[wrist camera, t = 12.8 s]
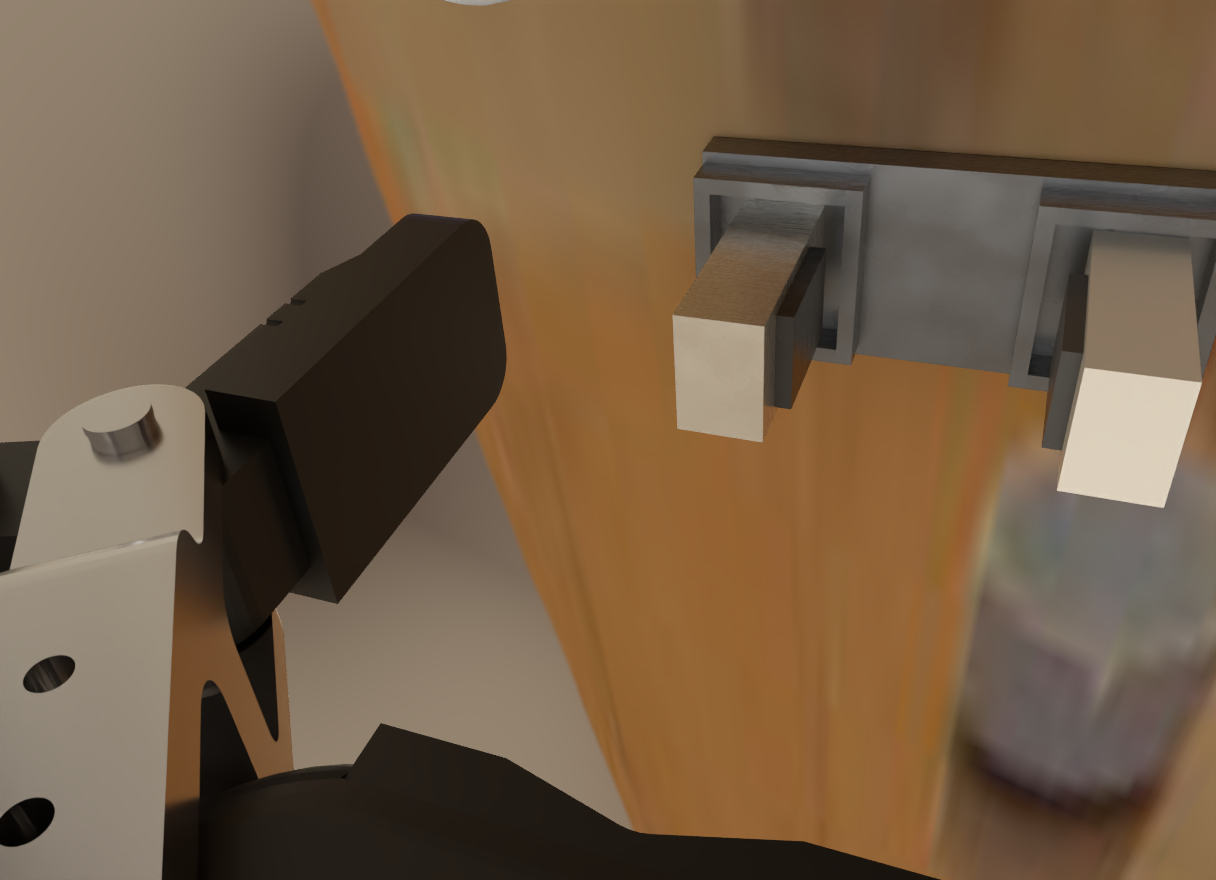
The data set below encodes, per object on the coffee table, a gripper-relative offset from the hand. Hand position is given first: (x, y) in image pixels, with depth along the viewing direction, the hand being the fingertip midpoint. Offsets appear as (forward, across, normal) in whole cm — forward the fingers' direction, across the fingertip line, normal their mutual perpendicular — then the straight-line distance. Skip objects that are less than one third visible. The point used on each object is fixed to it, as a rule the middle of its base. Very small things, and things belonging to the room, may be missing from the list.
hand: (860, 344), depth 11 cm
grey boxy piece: (+30, +1, +14) cm, 33 cm away
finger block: (+29, -5, +14) cm, 32 cm away
